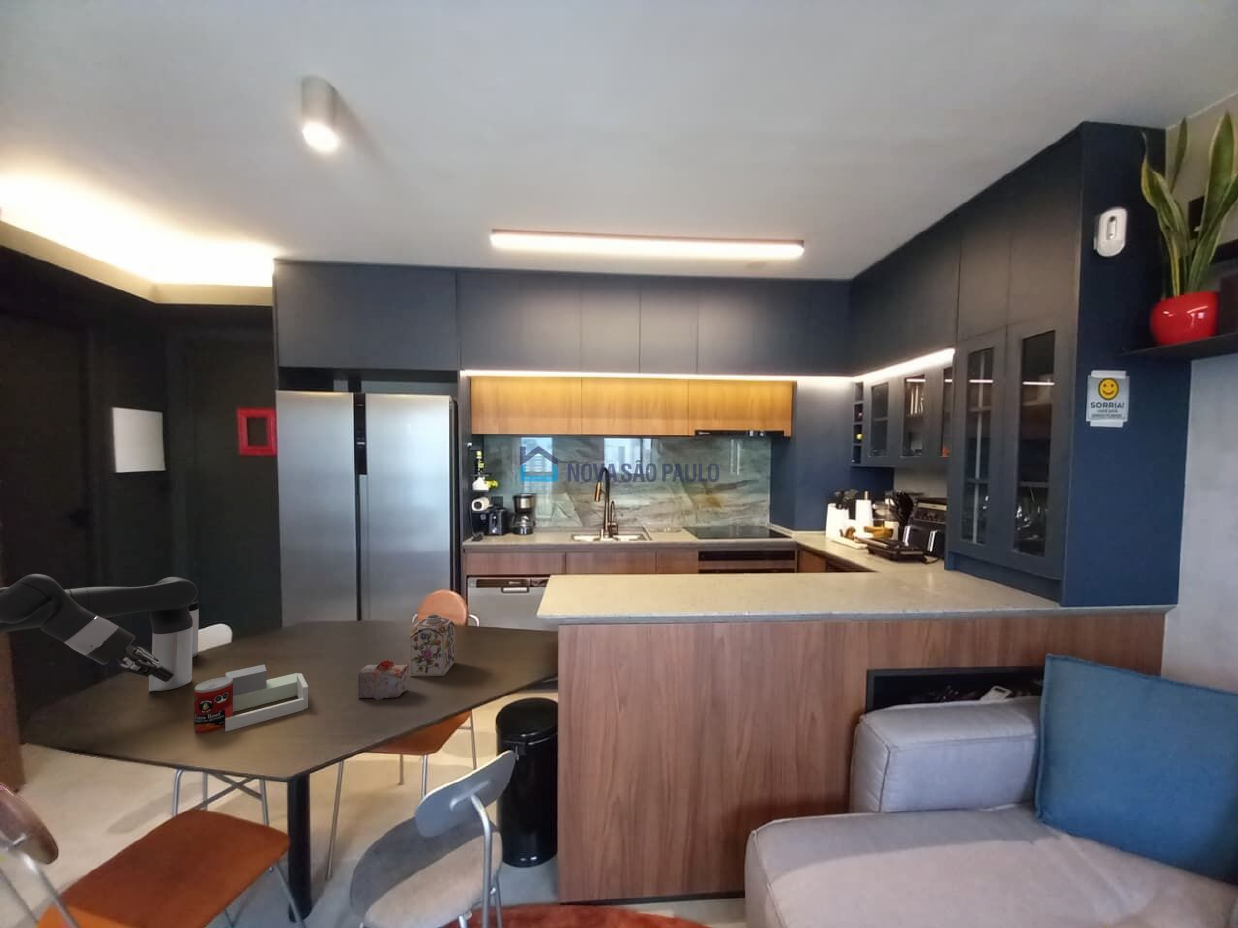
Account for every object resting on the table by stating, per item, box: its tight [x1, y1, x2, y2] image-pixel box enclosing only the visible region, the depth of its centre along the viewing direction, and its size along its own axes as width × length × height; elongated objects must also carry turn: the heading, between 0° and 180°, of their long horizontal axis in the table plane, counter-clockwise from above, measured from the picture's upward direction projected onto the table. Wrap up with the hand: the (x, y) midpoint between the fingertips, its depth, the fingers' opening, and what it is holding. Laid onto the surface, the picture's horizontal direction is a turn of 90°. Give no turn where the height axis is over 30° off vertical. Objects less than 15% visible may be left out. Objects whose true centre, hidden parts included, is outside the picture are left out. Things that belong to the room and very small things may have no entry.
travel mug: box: [189, 599, 200, 658], centre depth 172 cm, size 6×7×20 cm
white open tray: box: [224, 664, 309, 732], centre depth 135 cm, size 20×19×9 cm
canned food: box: [193, 676, 234, 734], centre depth 125 cm, size 8×8×11 cm
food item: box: [357, 660, 410, 701], centre depth 143 cm, size 14×8×10 cm, turn 93°
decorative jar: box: [409, 613, 456, 677], centre depth 161 cm, size 12×12×18 cm
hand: (170, 677), depth 120 cm, fingers closed
